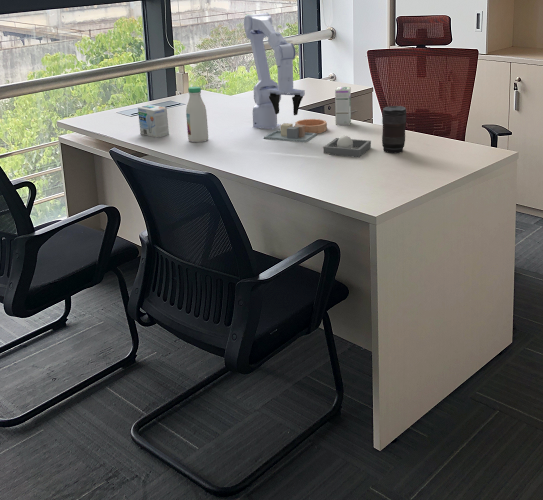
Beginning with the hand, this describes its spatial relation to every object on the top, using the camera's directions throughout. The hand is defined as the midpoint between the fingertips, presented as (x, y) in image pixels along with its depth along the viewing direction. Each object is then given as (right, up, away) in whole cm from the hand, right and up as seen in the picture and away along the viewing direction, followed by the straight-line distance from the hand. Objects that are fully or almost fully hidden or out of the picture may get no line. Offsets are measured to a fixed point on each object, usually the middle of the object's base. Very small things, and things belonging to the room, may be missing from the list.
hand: (286, 114), depth 256 cm
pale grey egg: (+21, -17, -19) cm, 33 cm away
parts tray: (+1, -9, 0) cm, 9 cm away
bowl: (+10, -5, +9) cm, 14 cm away
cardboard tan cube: (+5, -8, +1) cm, 10 cm away
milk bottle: (-34, -10, +2) cm, 35 cm away
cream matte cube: (0, -7, +3) cm, 8 cm away
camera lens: (+37, -17, -21) cm, 45 cm away
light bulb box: (-52, -6, +13) cm, 54 cm away
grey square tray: (+21, -17, -19) cm, 33 cm away
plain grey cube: (+2, -10, -2) cm, 10 cm away
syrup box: (+23, 0, +19) cm, 30 cm away
